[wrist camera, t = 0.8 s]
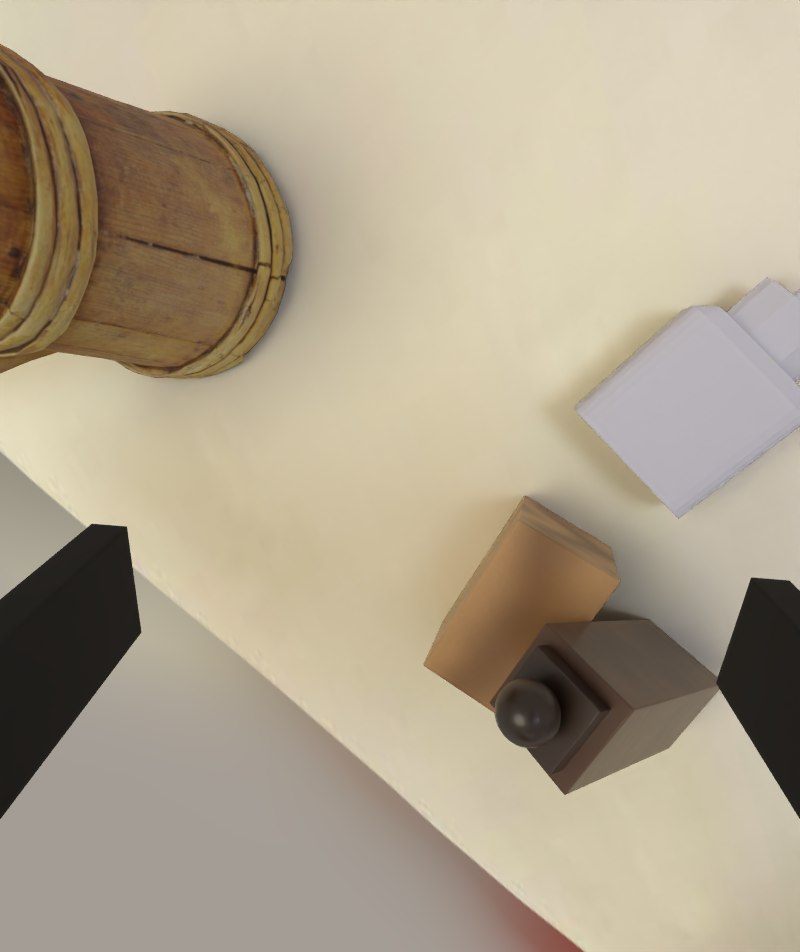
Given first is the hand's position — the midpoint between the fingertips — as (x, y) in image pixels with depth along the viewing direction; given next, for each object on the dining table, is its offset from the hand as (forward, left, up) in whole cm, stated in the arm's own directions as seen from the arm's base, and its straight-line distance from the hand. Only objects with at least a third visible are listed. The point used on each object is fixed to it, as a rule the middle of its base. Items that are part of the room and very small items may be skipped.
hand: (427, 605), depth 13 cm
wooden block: (-6, +9, -31) cm, 32 cm away
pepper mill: (-13, +9, -30) cm, 34 cm away
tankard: (+30, +3, -31) cm, 43 cm away
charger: (-8, -10, -31) cm, 33 cm away
